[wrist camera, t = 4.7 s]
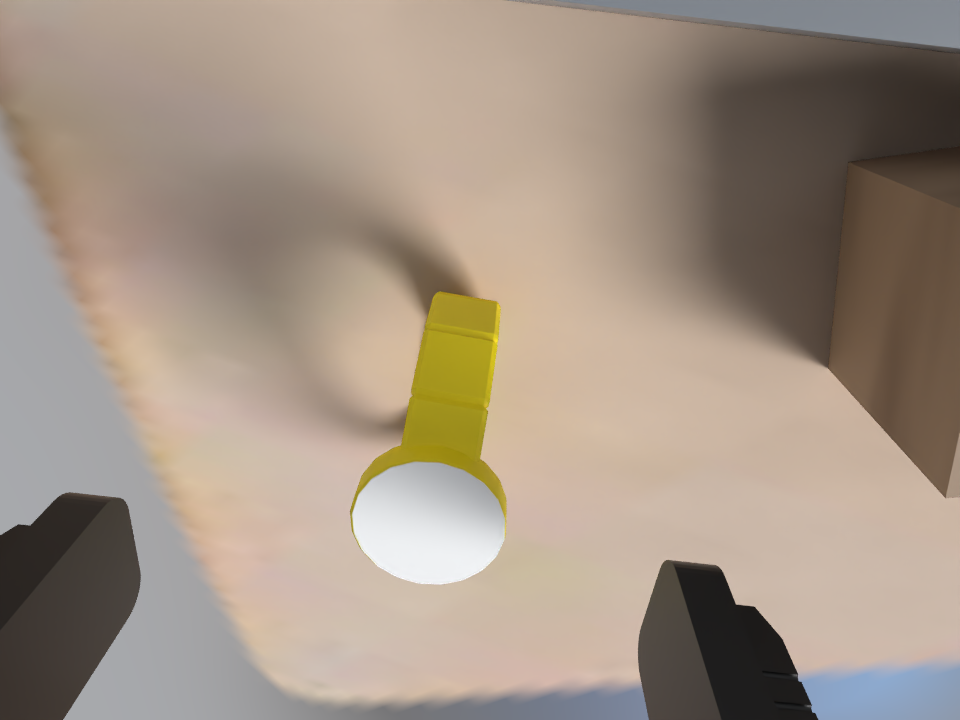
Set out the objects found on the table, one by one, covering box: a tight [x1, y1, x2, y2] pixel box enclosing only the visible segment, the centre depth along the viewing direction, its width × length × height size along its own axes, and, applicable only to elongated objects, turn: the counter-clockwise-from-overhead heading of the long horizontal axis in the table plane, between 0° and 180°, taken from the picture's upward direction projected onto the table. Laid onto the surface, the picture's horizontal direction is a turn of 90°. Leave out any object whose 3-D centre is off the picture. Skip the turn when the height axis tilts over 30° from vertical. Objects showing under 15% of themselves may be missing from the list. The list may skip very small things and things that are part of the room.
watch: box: [350, 291, 506, 585], centre depth 14 cm, size 6×3×6 cm, turn 170°
